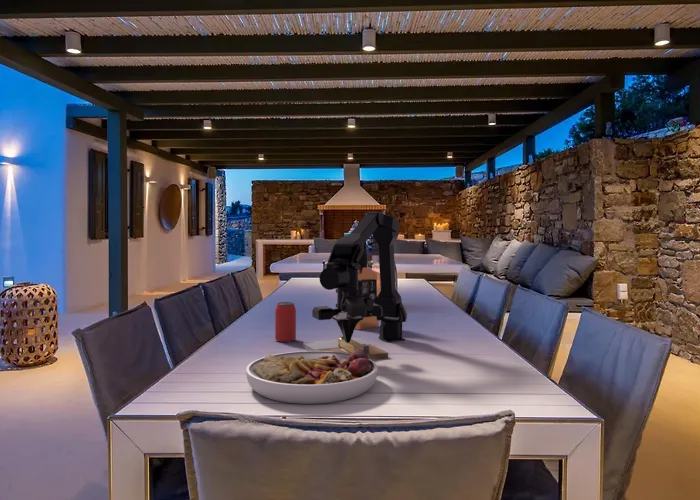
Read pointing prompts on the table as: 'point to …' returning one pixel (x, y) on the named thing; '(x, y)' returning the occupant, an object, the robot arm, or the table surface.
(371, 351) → the door board
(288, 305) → the beer can
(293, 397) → the bowl
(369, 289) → the whiskey bottle
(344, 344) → the swing bar
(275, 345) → the table surface
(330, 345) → the board
